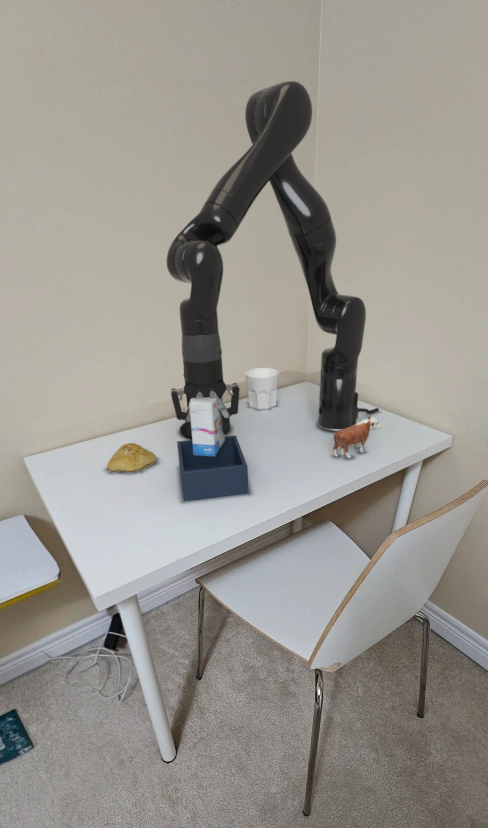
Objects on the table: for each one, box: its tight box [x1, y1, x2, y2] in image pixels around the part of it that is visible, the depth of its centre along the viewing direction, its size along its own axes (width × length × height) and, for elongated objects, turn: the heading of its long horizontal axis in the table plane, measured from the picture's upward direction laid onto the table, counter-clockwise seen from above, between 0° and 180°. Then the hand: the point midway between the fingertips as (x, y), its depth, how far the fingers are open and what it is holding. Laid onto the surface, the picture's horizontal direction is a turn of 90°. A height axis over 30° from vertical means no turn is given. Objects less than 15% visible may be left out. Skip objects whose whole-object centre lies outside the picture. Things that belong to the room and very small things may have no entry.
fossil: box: [106, 442, 158, 473], centre depth 113 cm, size 11×6×10 cm
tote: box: [176, 434, 250, 502], centre depth 104 cm, size 14×16×7 cm
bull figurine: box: [332, 415, 382, 459], centre depth 113 cm, size 4×13×8 cm, turn 121°
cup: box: [244, 367, 280, 410], centre depth 143 cm, size 10×10×10 cm
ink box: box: [189, 395, 226, 457], centre depth 99 cm, size 9×5×12 cm, turn 169°
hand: (208, 434), depth 100 cm, fingers closed on ink box, 6 cm apart
